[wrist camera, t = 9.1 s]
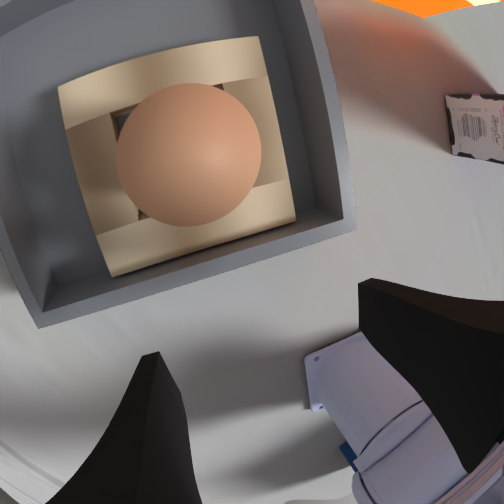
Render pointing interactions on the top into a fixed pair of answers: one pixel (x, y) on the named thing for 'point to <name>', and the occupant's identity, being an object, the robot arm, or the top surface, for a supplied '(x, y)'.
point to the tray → (56, 143)
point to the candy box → (477, 126)
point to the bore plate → (107, 134)
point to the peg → (188, 154)
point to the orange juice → (432, 5)
